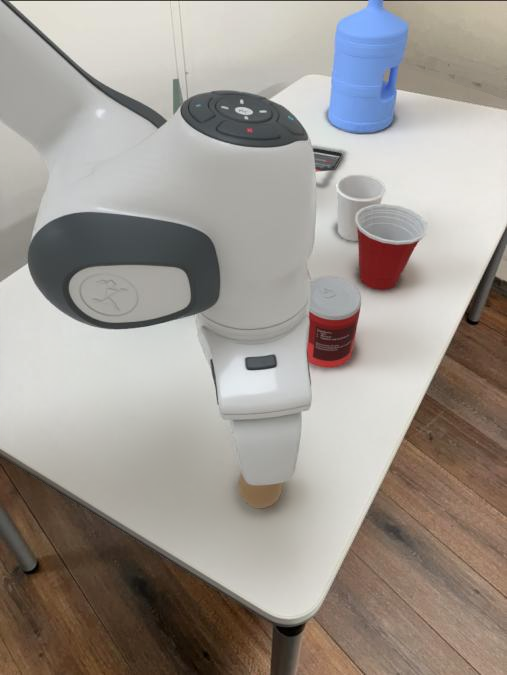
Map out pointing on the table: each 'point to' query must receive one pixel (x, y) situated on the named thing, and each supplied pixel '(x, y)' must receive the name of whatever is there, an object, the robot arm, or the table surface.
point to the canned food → (332, 321)
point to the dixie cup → (355, 200)
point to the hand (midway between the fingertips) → (256, 415)
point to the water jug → (366, 69)
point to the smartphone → (326, 159)
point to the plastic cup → (386, 242)
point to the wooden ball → (259, 493)
